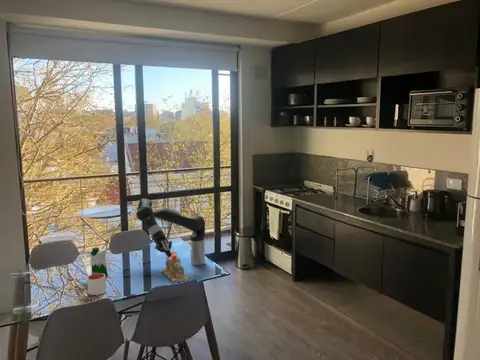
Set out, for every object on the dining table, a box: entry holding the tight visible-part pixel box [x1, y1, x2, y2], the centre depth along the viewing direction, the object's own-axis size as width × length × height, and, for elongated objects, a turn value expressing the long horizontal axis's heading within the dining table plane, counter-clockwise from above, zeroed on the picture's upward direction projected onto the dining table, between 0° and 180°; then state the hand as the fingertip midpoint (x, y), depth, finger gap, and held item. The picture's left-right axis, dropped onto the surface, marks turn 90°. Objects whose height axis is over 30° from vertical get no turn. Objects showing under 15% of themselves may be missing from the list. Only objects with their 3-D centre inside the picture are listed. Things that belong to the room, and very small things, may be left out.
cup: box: [86, 273, 107, 296], centre depth 241 cm, size 10×10×10 cm
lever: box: [171, 251, 177, 263], centre depth 257 cm, size 3×15×4 cm, turn 9°
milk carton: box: [88, 247, 109, 278], centre depth 265 cm, size 9×9×20 cm
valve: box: [161, 256, 190, 284], centre depth 264 cm, size 24×10×14 cm, turn 28°
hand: (170, 256), depth 253 cm, fingers closed
